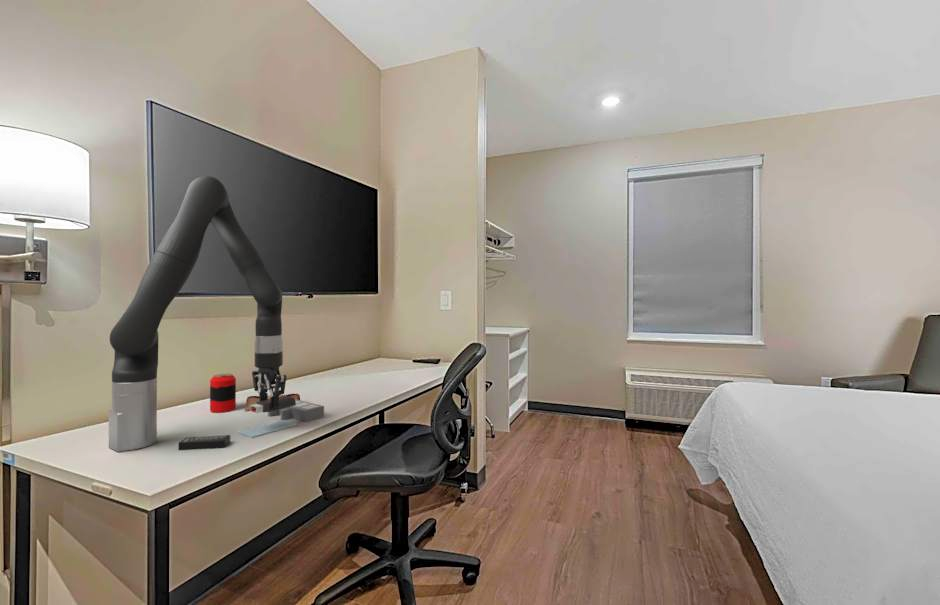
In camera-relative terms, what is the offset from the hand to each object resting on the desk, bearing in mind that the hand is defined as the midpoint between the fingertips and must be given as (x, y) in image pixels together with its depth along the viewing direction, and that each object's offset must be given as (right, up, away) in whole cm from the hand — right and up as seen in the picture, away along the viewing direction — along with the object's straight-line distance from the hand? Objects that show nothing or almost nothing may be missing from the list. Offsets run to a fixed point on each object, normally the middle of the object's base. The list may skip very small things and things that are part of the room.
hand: (269, 407), depth 123 cm
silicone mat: (0, -6, 0) cm, 6 cm away
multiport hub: (-10, -7, -14) cm, 19 cm away
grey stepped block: (+2, -6, +13) cm, 15 cm away
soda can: (-25, -6, +19) cm, 32 cm away
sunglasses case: (-10, -7, +25) cm, 28 cm away
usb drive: (+1, -1, +1) cm, 2 cm away
